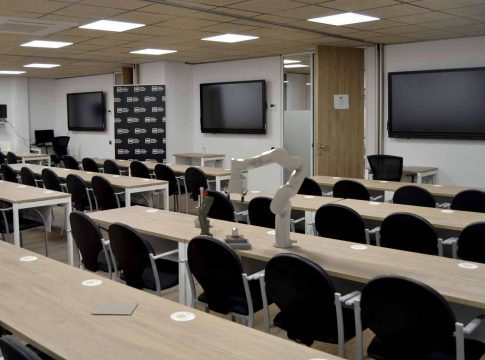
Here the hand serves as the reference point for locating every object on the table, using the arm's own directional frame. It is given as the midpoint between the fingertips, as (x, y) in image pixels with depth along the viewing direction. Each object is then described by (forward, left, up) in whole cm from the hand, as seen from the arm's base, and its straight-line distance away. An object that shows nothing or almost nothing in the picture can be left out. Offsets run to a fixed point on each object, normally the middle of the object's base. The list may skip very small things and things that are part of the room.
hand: (235, 201), depth 353 cm
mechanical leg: (+20, -10, -27) cm, 35 cm away
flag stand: (+23, -50, -27) cm, 61 cm away
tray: (0, +18, -26) cm, 32 cm away
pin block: (0, +1, -26) cm, 26 cm away
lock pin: (0, +1, -26) cm, 26 cm away
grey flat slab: (+63, +131, -27) cm, 148 cm away
